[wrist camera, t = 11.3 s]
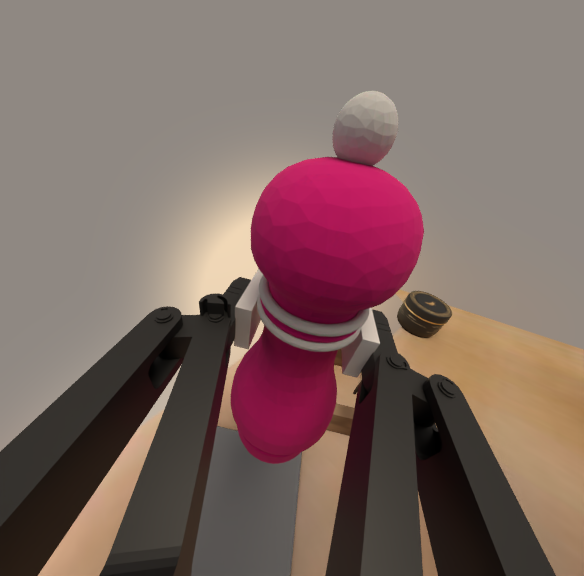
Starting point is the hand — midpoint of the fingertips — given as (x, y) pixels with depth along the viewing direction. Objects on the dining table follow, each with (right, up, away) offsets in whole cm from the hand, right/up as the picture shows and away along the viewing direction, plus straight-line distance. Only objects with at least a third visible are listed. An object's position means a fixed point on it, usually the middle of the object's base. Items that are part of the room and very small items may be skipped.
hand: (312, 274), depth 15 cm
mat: (-7, -25, +8) cm, 27 cm away
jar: (+31, -11, +39) cm, 51 cm away
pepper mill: (-3, -12, +2) cm, 12 cm away
